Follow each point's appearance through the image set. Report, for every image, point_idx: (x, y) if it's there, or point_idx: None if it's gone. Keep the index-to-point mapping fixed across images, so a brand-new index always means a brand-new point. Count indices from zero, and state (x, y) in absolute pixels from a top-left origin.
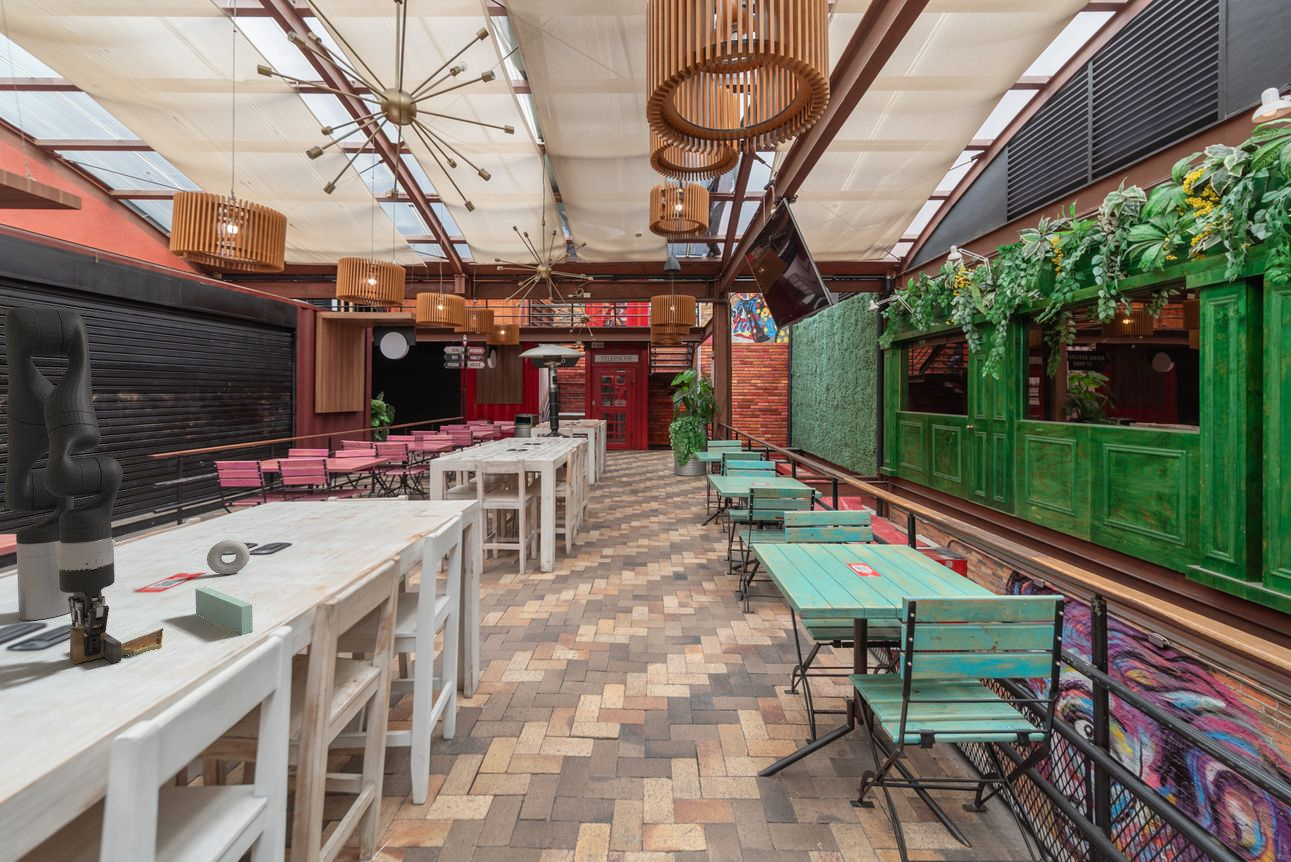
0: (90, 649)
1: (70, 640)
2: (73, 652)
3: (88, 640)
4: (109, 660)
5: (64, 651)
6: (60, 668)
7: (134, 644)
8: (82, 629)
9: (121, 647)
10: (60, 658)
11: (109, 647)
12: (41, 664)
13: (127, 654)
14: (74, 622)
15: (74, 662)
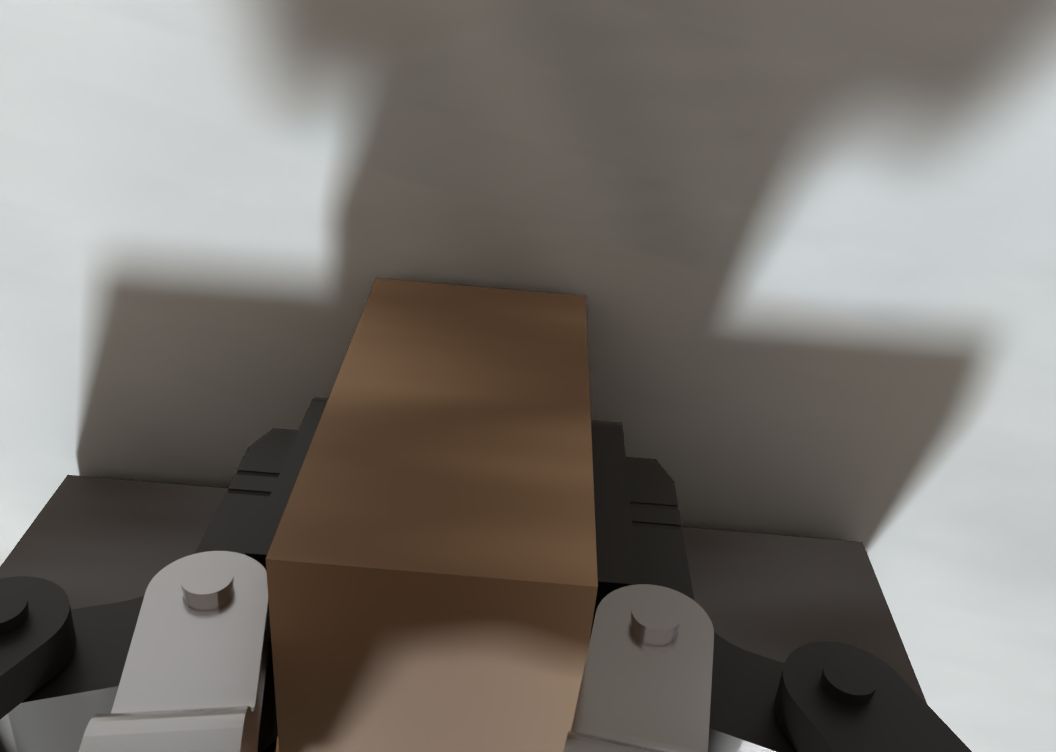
0: (237, 472)
1: (585, 443)
2: (431, 348)
3: (227, 547)
4: (180, 488)
5: (1051, 375)
6: (441, 153)
7: None
8: (329, 651)
9: None
10: (833, 272)
11: (128, 593)
12: (834, 80)
13: None
14: (801, 716)
15: (401, 286)
